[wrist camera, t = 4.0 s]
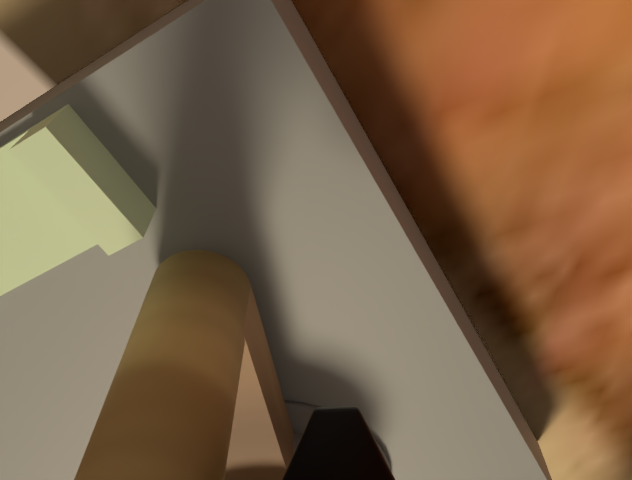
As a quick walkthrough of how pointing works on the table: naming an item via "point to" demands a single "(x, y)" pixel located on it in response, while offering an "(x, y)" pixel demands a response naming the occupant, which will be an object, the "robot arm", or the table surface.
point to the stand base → (232, 247)
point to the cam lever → (194, 384)
